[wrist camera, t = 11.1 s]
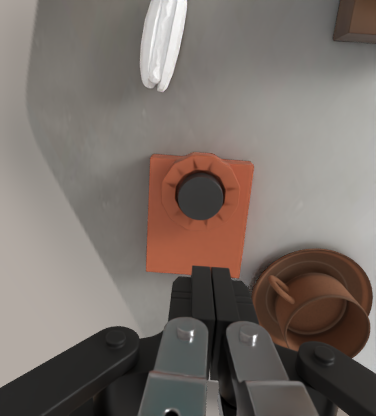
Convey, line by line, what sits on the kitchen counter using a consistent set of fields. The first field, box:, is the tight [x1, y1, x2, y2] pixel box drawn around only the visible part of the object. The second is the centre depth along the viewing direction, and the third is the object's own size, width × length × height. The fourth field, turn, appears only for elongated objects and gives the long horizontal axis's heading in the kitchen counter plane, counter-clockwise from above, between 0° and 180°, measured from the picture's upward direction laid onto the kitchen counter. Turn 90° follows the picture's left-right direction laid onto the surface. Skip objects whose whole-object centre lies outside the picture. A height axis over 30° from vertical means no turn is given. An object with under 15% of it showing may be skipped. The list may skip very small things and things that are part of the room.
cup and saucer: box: [251, 249, 373, 358], centre depth 31 cm, size 12×12×6 cm
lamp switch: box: [178, 173, 223, 220], centre depth 27 cm, size 4×4×2 cm
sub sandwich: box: [140, 0, 187, 92], centre depth 26 cm, size 3×8×3 cm, turn 167°
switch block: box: [146, 152, 254, 278], centre depth 30 cm, size 12×9×4 cm
